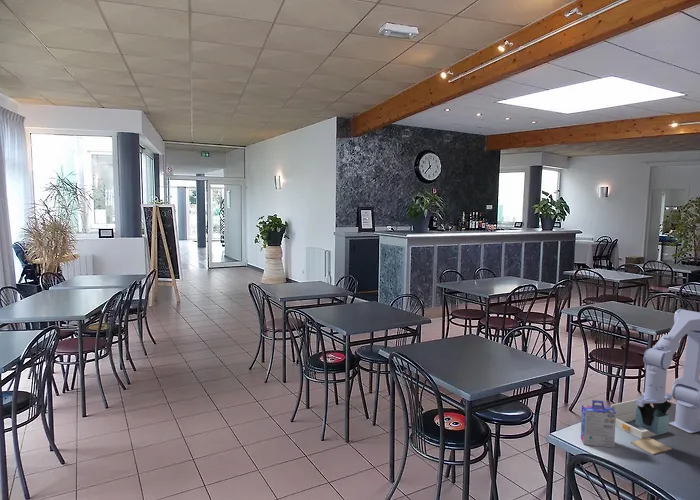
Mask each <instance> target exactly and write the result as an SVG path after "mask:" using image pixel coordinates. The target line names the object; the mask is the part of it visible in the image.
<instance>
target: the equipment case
mask: <svg viewBox="0 0 700 500" xmlns="http://www.w3.org/2000/svg"><path fill="white" fill-rule="evenodd" d="M635 418H636V412H633V413H629V414H624V415H620V416H616V423H615V427H617V428H619V429H621V430H623V431H624V432H627V433H629V434H631V435H632V436H634V437H636V438H639V440H640V439H644V438H647V437H650V438H652V437H654V436H658V435H657V434H655V433H653V432H650V431H648V430H646V429H639V428H638V427H635V426H633V425H631V424H628V422H632V421H635Z"/></svg>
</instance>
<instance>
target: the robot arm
mask: <svg viewBox="0 0 700 500" xmlns="http://www.w3.org/2000/svg"><path fill="white" fill-rule="evenodd" d="M673 323H674V324H673V325H672V327H671V328H670V330H669V332H668V334H663V335H662V336H661V337H660V338H659V340H658V341H657V342H656V343H655V345H654V346H653V347H650V348H647V349H646V350H645V351H644V354H643V358H642V360H643V363H644V369H645V383H644V384H645V385H644V391H643V392H641V396H640V397H639V398H636V399H635V400H636V407H638V408H639V410H640V412H641V415H642V420H643V424H645V425H648V426H650V425H651V421H652V416H653V414H654V412H655V410H659V411H661V412H663V413H666V414H667V411H668V410H670V408H671V407H672V403H671V402H670V401H672V400H673V399H674V403H676V404H675V417H674V421H669V425H670V426H673V427H675V428H676V429H679V430H682V431H684V432H686V433H688V434H695V433H699V432H700V312H698V311H693V310H688V309H687V310H686V309H684V308H679V309H677V310H675V312H674V316H673ZM686 335H687V340H686V341H687V342H686V349H685V356H684V364H683V370H682V376H680V377H677V378H675V379H674V381H673V384H672V387H671V390H670V393H668V392H666V387H667V386H666V384H667V376H668V375H667V371H668V369H669V368H670V366H671V365H672V360H673V359H674V357H673V356H674V354H675V353H676V352H677V351H678V349H679V348H680V346H681V343H680V340H682V338H684V337H685V336H686ZM668 401H669V402H668ZM651 404H652V405H651Z"/></svg>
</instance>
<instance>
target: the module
mask: <svg viewBox="0 0 700 500" xmlns="http://www.w3.org/2000/svg"><path fill="white" fill-rule="evenodd" d="M669 419H670V415H669V414H668V413H667V412H666V413H663V412H661V411H659V410H655V412H654V414H653V416H652V421H651V425H650V426H648V425H645V424H643V420H642V415H641V412H640V410H639V408H638V406H636V418H635V420H634V424H635V425H636V426H637V427H638V426H639V427H640V428H642V429H643V430H645V429H646V430H648V431H650V432H653V433H655V434H657V435H656V436H659V435H663V434H666V433H668V432H669V425H670V424H669V423H670V420H669Z"/></svg>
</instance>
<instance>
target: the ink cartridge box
mask: <svg viewBox="0 0 700 500" xmlns="http://www.w3.org/2000/svg"><path fill="white" fill-rule="evenodd" d="M591 402H592V405H585V404H584V405H583V404H582V405H581V417H580V418H581V423H580V440H581V442H582V444H583V445H585V446H586V445H587V446H595V447H596V446H597V447H605V448H615V438H616V437H615V436H616V426H615V423H616V413H615V411H614V410H613V409H612V408H611V407H610V406H605V404H604V401H603V400H596V399H592V400H591ZM597 403H598V404H597ZM599 404H600V405H599Z"/></svg>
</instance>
